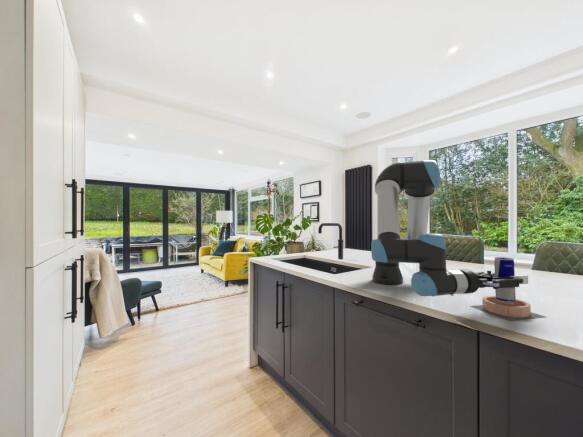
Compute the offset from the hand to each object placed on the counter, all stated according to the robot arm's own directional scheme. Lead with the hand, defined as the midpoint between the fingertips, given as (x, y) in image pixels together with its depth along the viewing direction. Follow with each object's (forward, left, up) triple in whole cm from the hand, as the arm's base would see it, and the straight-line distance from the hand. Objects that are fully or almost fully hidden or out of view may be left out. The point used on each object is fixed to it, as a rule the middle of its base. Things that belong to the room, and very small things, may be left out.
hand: (517, 277), depth 85 cm
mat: (0, -5, -11) cm, 13 cm away
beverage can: (0, -5, -8) cm, 10 cm away
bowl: (0, -5, -11) cm, 12 cm away
